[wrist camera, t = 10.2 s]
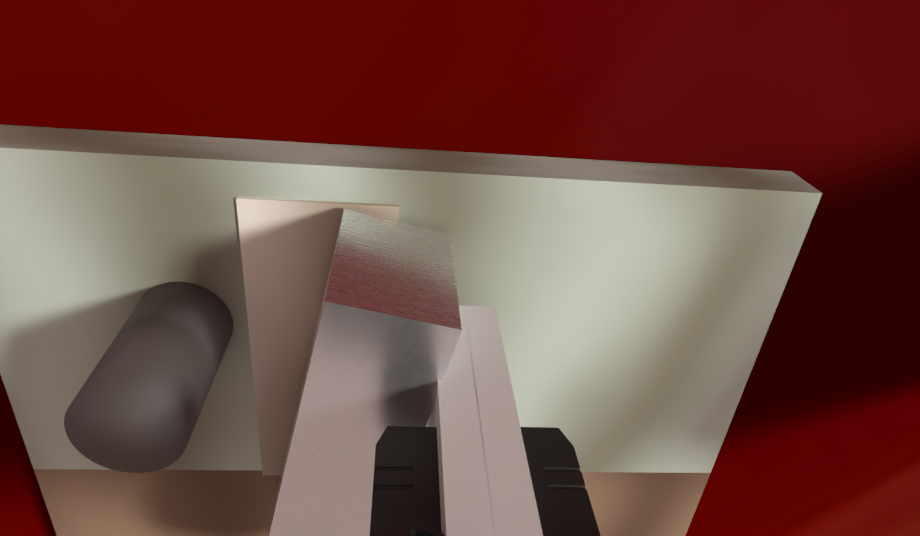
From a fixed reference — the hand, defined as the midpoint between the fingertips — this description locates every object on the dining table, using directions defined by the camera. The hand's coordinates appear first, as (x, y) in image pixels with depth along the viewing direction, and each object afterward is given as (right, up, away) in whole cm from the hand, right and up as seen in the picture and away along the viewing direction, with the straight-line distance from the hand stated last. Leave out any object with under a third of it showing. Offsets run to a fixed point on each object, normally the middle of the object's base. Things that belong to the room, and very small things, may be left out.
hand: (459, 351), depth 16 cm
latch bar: (-3, -1, +2) cm, 4 cm away
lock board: (-2, -4, +5) cm, 7 cm away
